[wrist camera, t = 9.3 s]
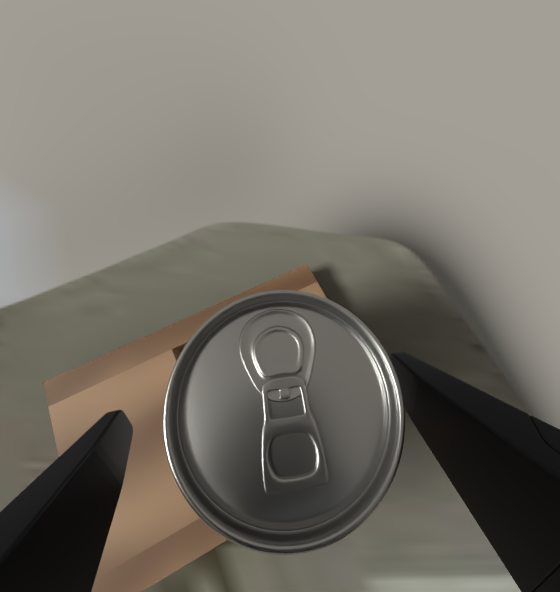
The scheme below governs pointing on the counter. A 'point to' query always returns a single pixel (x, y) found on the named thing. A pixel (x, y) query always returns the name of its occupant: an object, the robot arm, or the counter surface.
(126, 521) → the wooden tray frame
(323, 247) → the counter surface
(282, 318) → the can
